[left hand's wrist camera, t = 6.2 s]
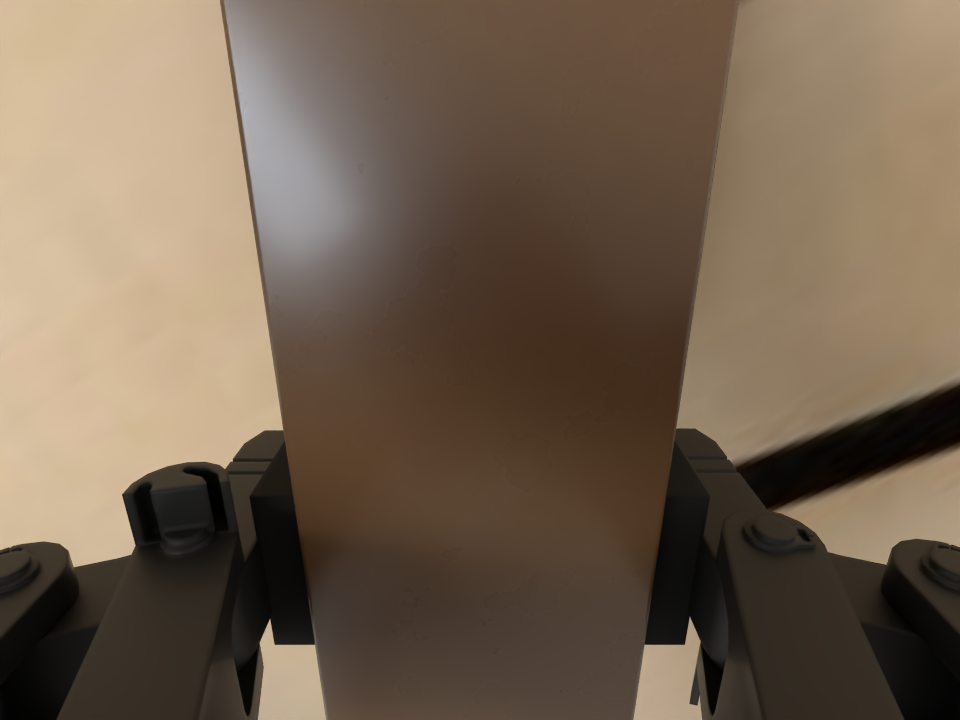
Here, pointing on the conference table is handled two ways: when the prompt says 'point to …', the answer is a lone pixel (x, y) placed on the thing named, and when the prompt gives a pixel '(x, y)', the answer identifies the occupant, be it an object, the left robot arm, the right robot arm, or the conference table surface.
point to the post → (479, 329)
